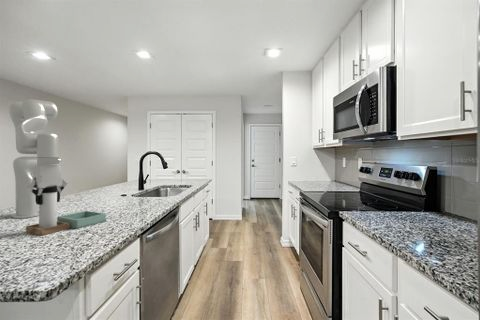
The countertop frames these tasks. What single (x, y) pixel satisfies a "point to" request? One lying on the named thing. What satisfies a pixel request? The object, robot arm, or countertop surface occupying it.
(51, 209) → the travel mug
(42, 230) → the brown wooden tray
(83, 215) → the tray
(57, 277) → the countertop surface
